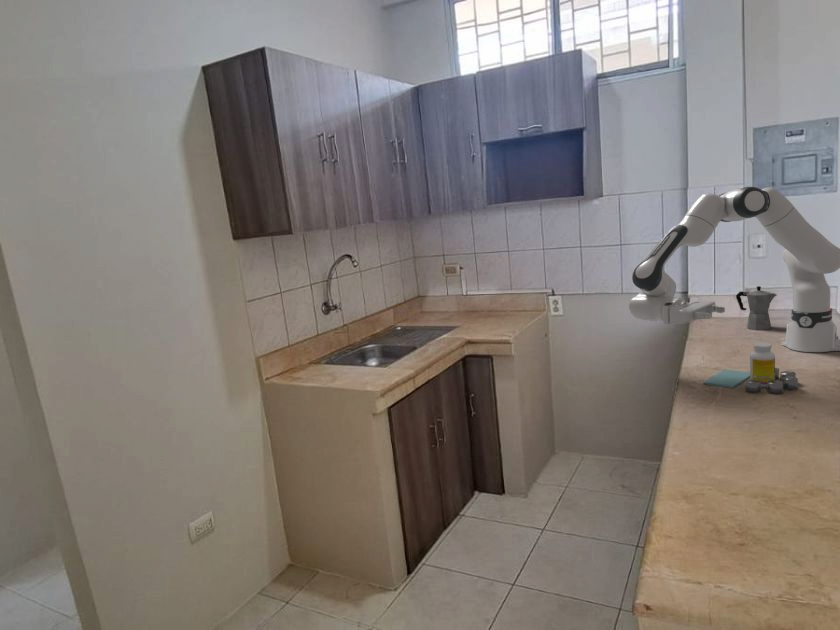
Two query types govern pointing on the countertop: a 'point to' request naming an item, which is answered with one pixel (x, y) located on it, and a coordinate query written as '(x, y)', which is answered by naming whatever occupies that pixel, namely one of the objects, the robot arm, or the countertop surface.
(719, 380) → the mat
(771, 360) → the supplement bottle
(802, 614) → the countertop surface
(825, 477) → the countertop surface
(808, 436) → the countertop surface
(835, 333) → the robot arm
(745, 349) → the countertop surface
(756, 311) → the coffeepot
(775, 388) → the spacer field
